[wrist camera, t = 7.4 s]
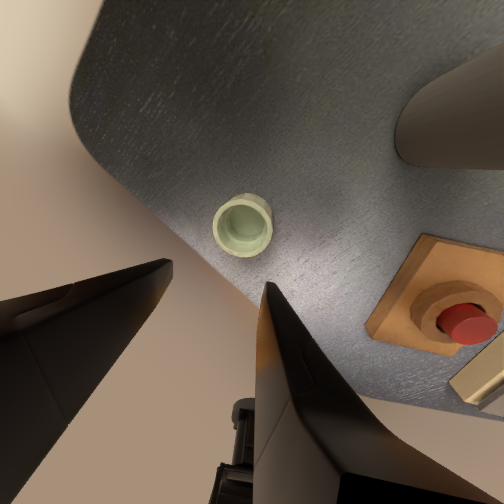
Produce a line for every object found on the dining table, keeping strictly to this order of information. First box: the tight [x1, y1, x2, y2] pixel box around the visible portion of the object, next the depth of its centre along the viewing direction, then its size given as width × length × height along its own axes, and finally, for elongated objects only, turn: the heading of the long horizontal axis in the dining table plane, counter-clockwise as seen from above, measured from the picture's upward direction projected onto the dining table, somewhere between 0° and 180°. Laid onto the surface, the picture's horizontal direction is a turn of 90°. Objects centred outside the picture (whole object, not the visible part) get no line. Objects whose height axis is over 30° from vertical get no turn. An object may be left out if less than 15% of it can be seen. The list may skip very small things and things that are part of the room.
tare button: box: [436, 303, 498, 345], centre depth 16 cm, size 3×3×2 cm
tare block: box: [365, 234, 504, 357], centre depth 18 cm, size 12×9×4 cm
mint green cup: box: [212, 193, 273, 258], centre depth 17 cm, size 5×5×4 cm
